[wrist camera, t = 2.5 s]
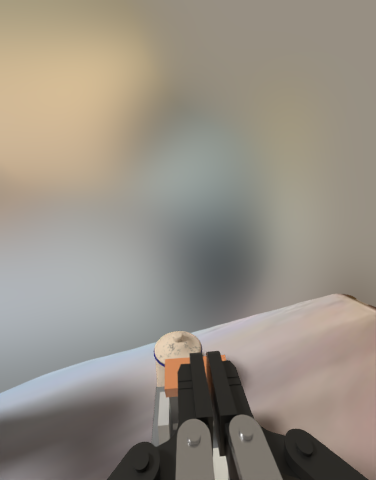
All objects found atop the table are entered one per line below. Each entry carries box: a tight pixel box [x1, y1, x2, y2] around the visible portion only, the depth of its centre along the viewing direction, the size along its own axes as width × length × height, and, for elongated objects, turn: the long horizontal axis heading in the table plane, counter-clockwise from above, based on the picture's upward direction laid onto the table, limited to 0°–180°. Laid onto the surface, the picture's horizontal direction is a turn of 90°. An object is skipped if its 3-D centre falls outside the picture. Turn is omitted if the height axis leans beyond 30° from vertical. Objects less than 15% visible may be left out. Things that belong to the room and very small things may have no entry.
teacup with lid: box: [154, 331, 202, 387], centre depth 42 cm, size 12×9×12 cm
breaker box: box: [151, 386, 228, 480], centre depth 27 cm, size 12×10×13 cm
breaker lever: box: [165, 355, 226, 430], centre depth 22 cm, size 2×5×15 cm, turn 94°
